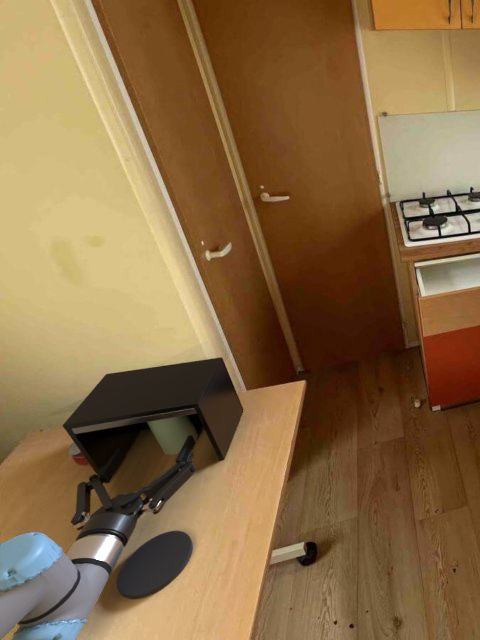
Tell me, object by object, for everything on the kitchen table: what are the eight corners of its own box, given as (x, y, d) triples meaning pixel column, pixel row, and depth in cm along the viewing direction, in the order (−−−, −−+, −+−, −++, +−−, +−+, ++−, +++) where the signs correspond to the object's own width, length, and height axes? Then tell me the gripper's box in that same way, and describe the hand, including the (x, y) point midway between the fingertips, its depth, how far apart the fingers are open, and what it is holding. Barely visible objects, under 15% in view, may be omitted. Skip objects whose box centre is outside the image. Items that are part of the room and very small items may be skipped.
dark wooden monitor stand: (224, 459, 98) (197, 403, 89) (102, 483, 92) (62, 425, 84) (244, 410, 111) (222, 357, 102) (138, 428, 105) (106, 373, 97)
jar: (158, 444, 101) (137, 409, 96) (191, 425, 106) (173, 390, 101) (169, 459, 98) (148, 423, 92) (202, 439, 103) (185, 403, 97)
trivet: (102, 598, 74) (99, 596, 73) (150, 533, 83) (148, 530, 83) (164, 599, 73) (162, 596, 73) (206, 533, 83) (204, 530, 83)
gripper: (26, 575, 74) (99, 468, 92) (186, 539, 79) (225, 445, 98) (2, 551, 71) (83, 445, 89) (171, 515, 76) (214, 423, 94)
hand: (157, 445), depth 93 cm, fingers open, 13 cm apart
